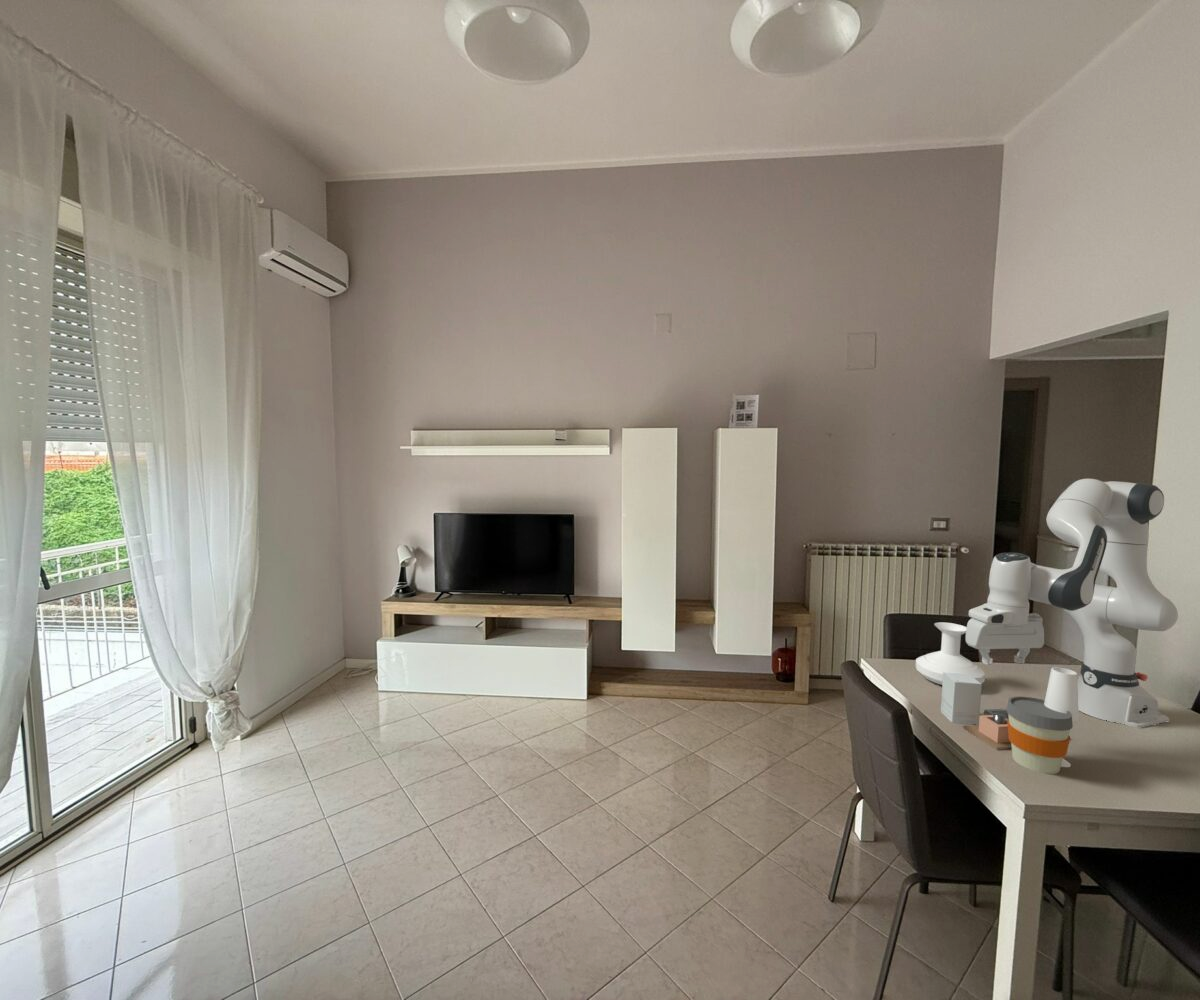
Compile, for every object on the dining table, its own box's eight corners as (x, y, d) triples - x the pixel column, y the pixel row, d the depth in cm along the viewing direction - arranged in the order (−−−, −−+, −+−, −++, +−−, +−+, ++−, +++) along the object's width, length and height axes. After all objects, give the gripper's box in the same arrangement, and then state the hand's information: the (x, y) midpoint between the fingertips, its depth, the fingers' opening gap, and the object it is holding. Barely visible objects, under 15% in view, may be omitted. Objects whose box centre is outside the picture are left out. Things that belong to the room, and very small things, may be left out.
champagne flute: (1066, 758, 131) (1074, 668, 130) (1080, 773, 125) (1088, 678, 123) (1034, 753, 133) (1041, 664, 132) (1046, 767, 127) (1053, 673, 126)
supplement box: (979, 726, 147) (983, 684, 146) (951, 723, 148) (954, 681, 147) (967, 714, 154) (969, 673, 153) (939, 711, 155) (942, 671, 154)
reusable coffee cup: (1083, 782, 121) (1087, 721, 120) (1023, 777, 123) (1027, 717, 122) (1046, 753, 133) (1050, 698, 132) (993, 748, 135) (996, 694, 134)
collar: (992, 726, 145) (993, 711, 144) (1017, 741, 137) (1019, 725, 136) (972, 727, 144) (973, 711, 144) (997, 742, 136) (998, 726, 136)
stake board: (995, 728, 146) (995, 724, 146) (1031, 750, 135) (1031, 745, 135) (962, 729, 145) (963, 725, 145) (996, 751, 134) (996, 747, 134)
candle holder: (986, 680, 179) (990, 626, 177) (981, 699, 164) (985, 641, 162) (919, 664, 192) (923, 614, 190) (909, 681, 176) (913, 627, 175)
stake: (997, 733, 141) (999, 712, 140) (1006, 738, 138) (1008, 716, 138) (989, 733, 140) (990, 712, 140) (997, 739, 138) (999, 717, 137)
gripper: (1031, 609, 141) (1027, 658, 142) (963, 610, 139) (959, 659, 140) (1053, 616, 134) (1049, 667, 136) (982, 617, 133) (978, 669, 134)
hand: (1003, 663), depth 138 cm, fingers open, 8 cm apart
